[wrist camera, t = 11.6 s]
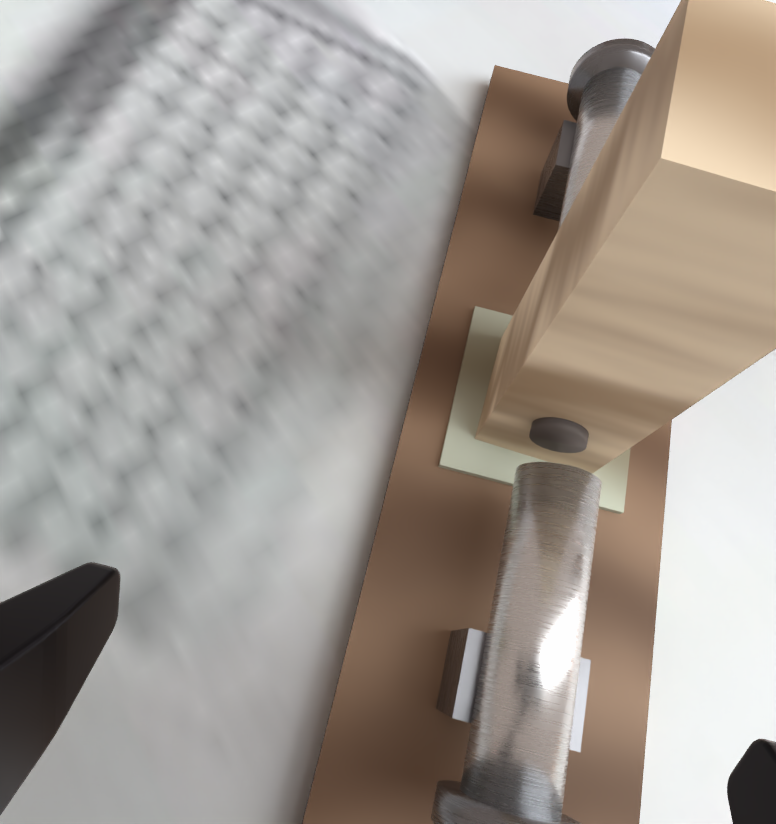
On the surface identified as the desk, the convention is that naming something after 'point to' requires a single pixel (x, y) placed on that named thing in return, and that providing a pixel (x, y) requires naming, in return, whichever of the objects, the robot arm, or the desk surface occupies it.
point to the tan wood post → (654, 253)
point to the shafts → (537, 555)
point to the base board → (486, 524)
